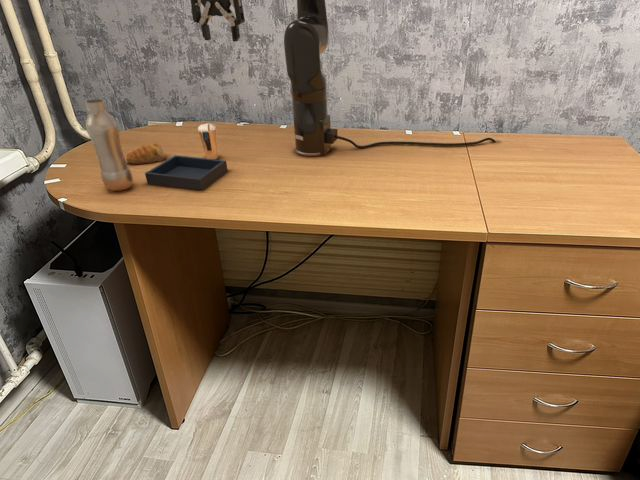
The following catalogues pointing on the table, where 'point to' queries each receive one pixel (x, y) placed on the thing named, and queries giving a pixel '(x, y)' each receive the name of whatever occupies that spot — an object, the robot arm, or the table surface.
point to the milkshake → (208, 140)
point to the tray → (187, 172)
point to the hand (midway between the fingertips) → (221, 40)
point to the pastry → (146, 154)
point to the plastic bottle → (107, 146)
